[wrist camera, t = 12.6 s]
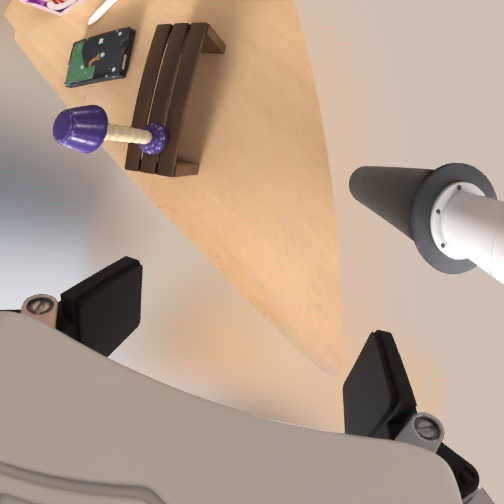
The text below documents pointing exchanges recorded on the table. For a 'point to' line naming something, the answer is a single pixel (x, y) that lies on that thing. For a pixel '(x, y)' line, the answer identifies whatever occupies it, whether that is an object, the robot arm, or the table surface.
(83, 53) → the disk drive
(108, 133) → the toy lamp
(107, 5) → the marker
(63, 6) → the greeting card
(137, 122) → the bench
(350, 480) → the robot arm
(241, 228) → the table surface
